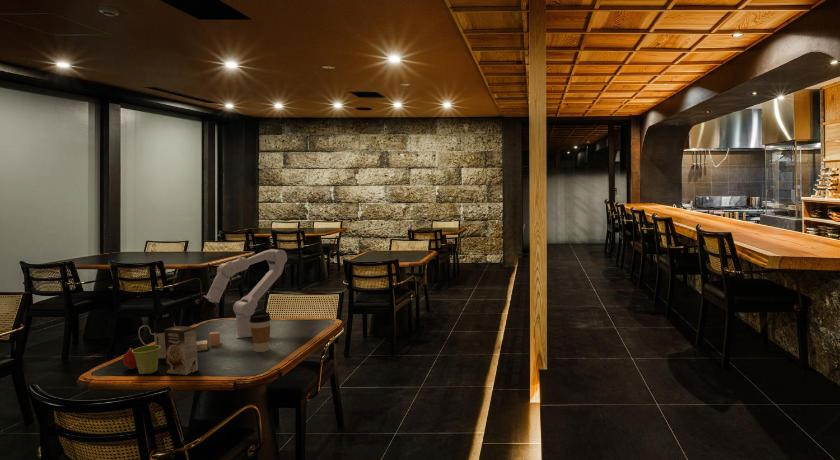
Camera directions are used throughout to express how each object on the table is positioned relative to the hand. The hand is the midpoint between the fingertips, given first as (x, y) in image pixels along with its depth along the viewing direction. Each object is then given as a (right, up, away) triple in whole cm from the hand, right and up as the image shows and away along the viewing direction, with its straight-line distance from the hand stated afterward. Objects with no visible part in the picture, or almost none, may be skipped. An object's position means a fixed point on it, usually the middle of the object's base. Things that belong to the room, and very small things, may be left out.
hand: (203, 318), depth 231 cm
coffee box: (+7, -14, -36) cm, 39 cm away
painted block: (+5, -11, +1) cm, 12 cm away
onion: (-14, -14, -30) cm, 36 cm away
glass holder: (-12, -13, -15) cm, 23 cm away
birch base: (+1, -12, -6) cm, 14 cm away
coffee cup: (+29, -11, -12) cm, 33 cm away
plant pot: (-6, -14, -35) cm, 38 cm away
